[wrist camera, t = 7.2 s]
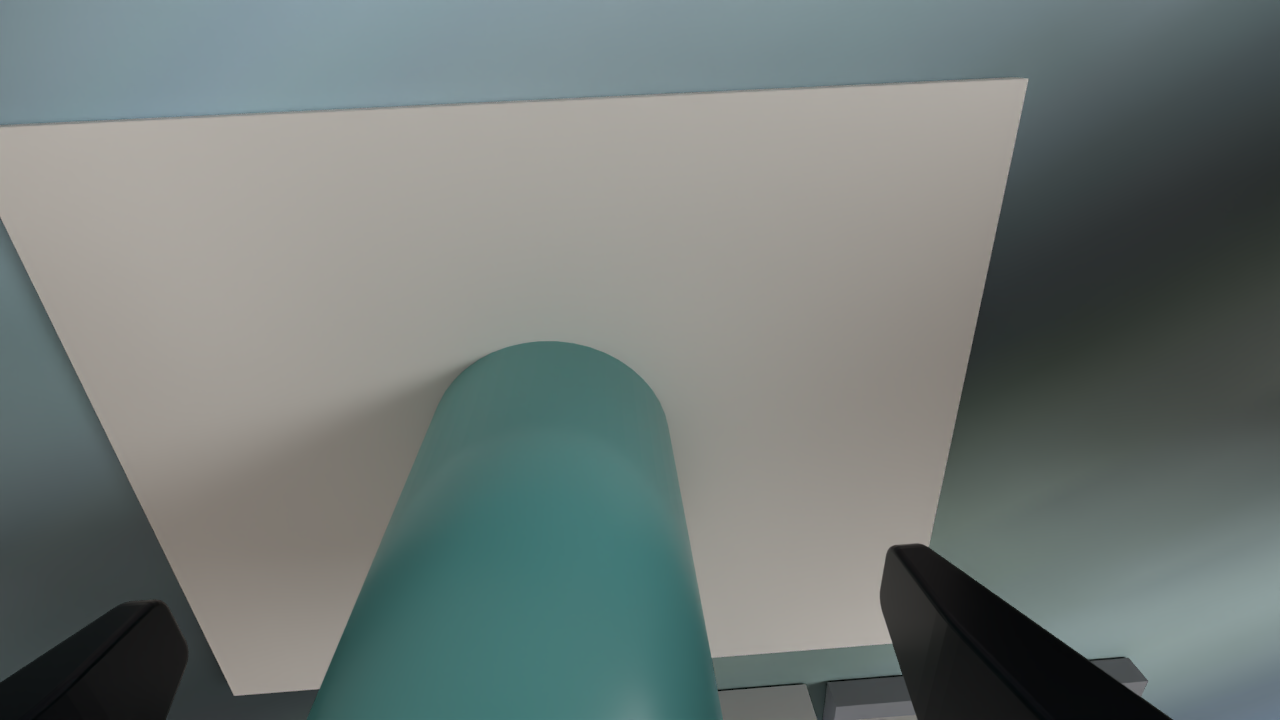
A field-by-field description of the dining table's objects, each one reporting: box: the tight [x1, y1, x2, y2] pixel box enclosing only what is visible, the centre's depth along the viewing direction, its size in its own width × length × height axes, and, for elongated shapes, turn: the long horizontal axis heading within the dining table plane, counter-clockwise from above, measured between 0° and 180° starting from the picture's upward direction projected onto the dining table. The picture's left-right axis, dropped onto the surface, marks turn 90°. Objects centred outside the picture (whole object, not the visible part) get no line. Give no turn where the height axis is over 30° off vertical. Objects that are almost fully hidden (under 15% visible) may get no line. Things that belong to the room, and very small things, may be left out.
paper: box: [0, 77, 1028, 696], centre depth 11 cm, size 14×11×1 cm
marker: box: [307, 341, 723, 720], centre depth 7 cm, size 4×4×8 cm
